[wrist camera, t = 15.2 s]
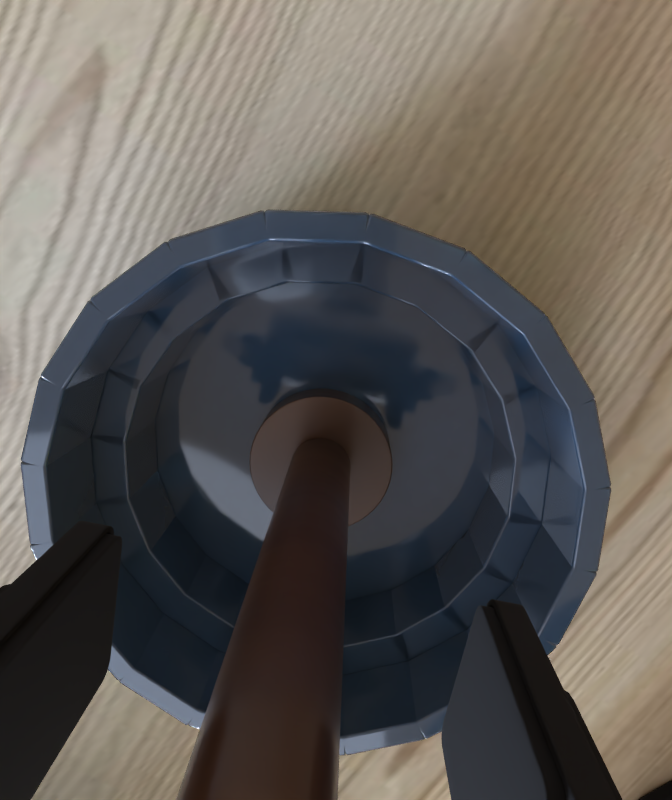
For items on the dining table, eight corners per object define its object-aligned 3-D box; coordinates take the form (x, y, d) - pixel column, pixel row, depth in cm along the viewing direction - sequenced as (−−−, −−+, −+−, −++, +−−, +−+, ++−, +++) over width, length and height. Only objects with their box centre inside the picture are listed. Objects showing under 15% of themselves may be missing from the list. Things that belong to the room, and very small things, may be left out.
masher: (229, 435, 20) (-161, 962, 5) (340, 361, 19) (276, 724, 4) (306, 538, 20) (173, 1248, 6) (416, 472, 20) (587, 1099, 5)
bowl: (33, 388, 20) (-98, 439, 15) (385, 128, 18) (398, 63, 12) (276, 687, 23) (249, 830, 17) (612, 500, 20) (712, 594, 15)
